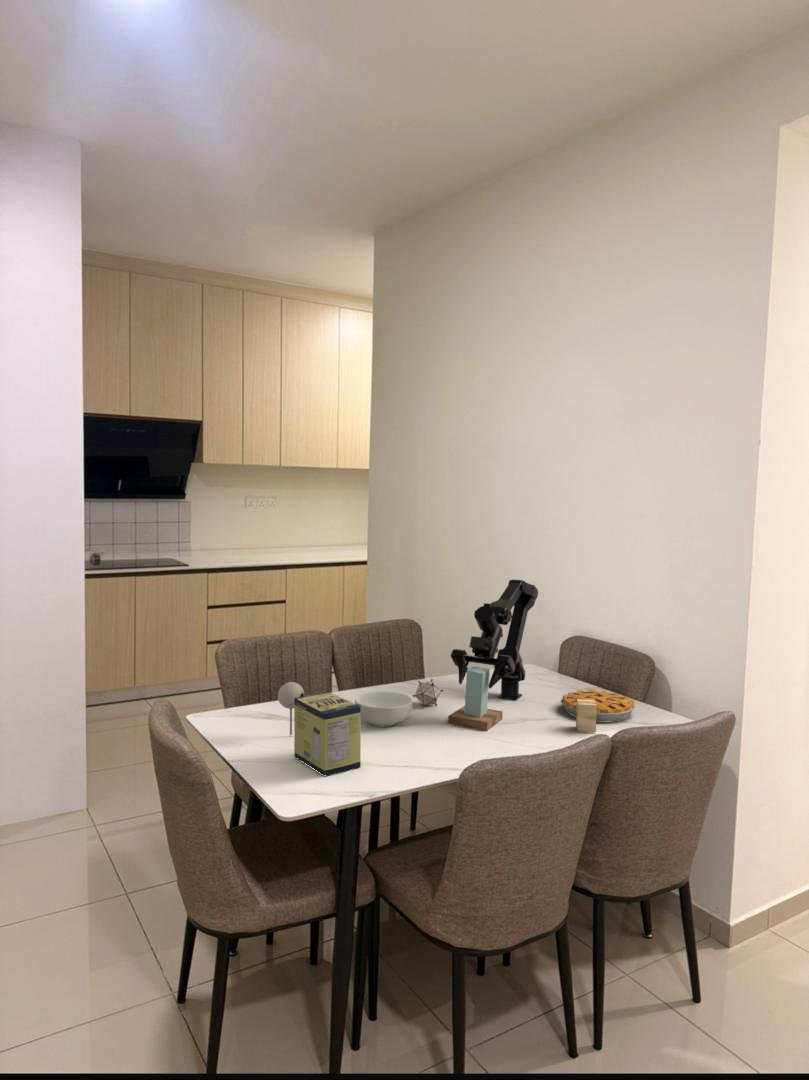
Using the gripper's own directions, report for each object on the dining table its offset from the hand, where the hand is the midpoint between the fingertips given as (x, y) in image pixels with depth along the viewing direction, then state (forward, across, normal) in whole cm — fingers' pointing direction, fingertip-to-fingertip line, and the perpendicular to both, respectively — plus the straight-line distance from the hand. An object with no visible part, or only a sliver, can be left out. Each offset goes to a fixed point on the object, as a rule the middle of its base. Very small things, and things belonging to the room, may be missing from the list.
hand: (474, 685), depth 218 cm
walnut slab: (+7, 0, +9) cm, 12 cm away
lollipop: (+33, -39, -17) cm, 54 cm away
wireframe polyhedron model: (+2, -19, +14) cm, 24 cm away
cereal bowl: (+17, -23, -1) cm, 29 cm away
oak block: (0, +30, +15) cm, 34 cm away
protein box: (+41, -20, -25) cm, 52 cm away
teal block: (+5, 0, +7) cm, 9 cm away
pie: (-12, +29, +28) cm, 42 cm away
